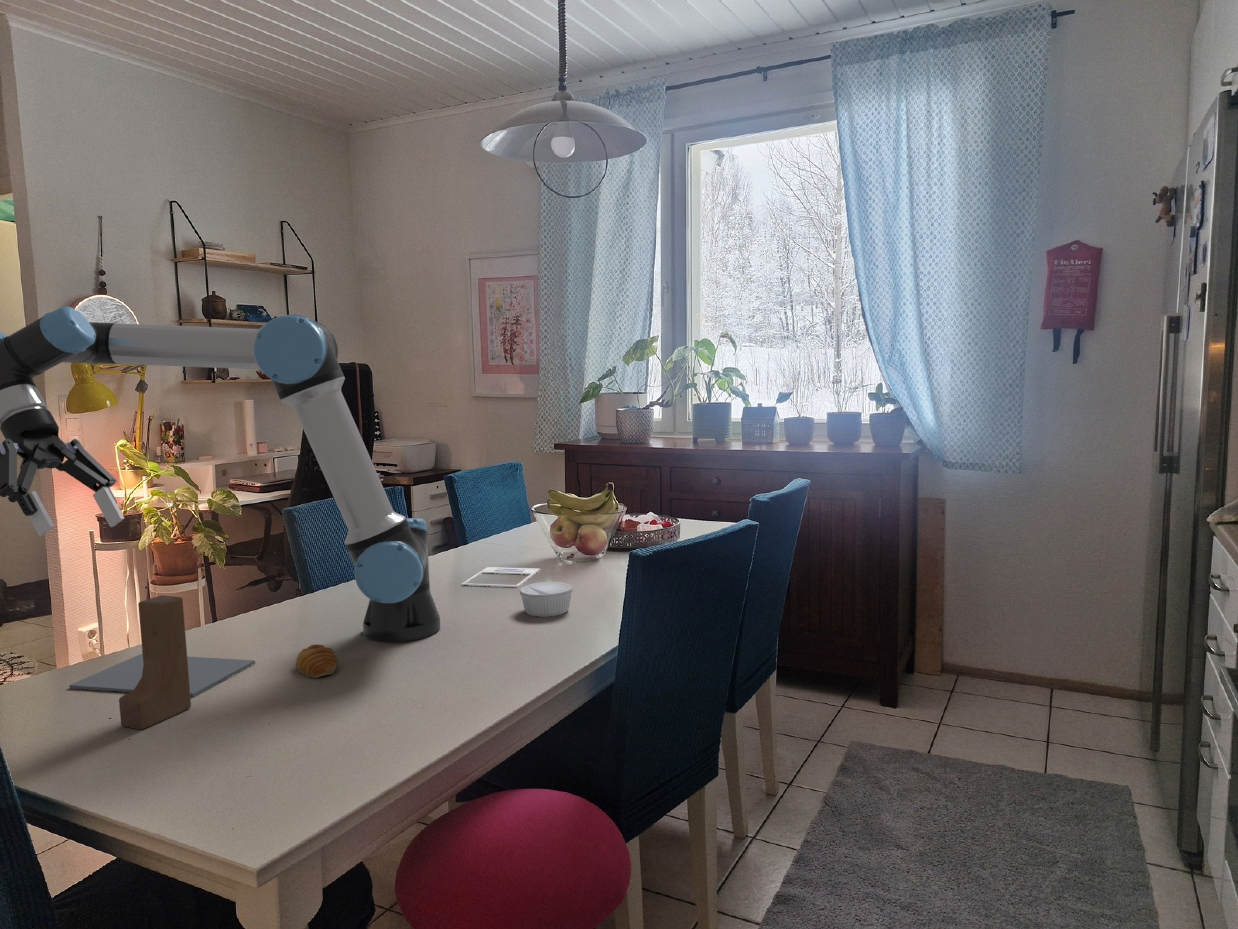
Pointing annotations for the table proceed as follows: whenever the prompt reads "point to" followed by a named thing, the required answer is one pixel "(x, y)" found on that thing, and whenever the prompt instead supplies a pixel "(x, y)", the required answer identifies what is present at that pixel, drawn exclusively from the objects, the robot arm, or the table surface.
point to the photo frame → (504, 571)
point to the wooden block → (159, 665)
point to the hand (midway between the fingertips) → (83, 527)
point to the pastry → (316, 661)
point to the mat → (130, 671)
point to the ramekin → (546, 598)
